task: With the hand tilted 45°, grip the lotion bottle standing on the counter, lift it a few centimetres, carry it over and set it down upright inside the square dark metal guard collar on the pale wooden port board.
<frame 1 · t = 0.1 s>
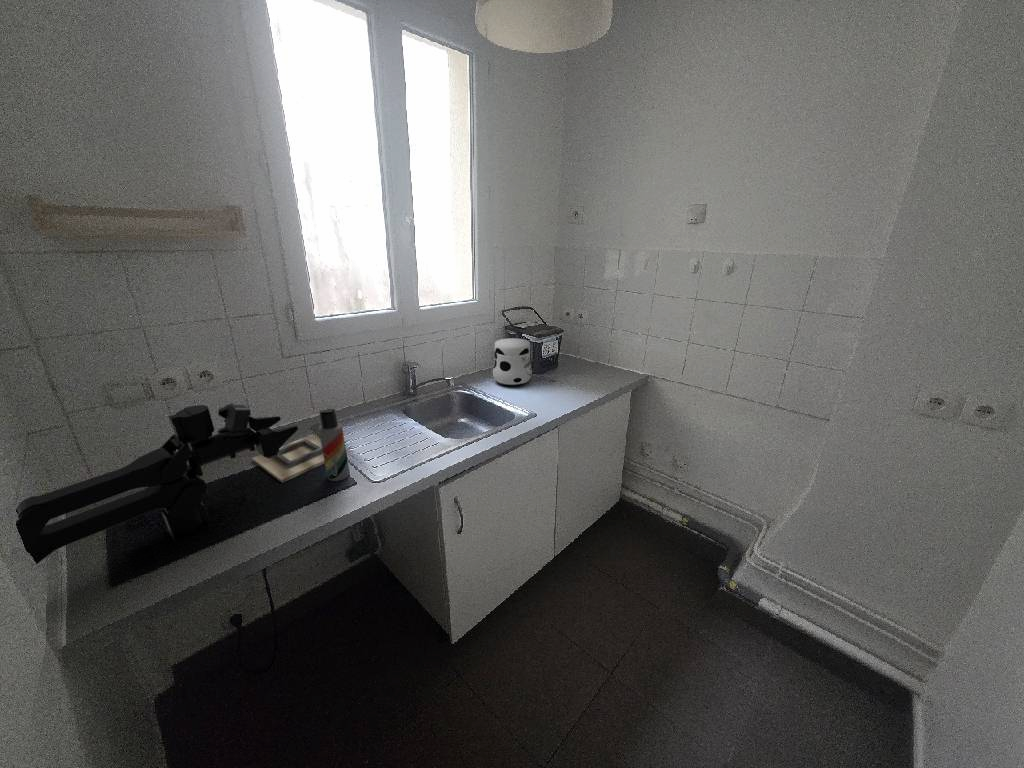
hand: (288, 422, 103), 17 cm above the countertop, tool horizontal, fingers open, 9 cm apart
lotion bottle: (339, 476, 110), on the countertop
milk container: (512, 382, 178), on the countertop
port board: (298, 457, 118), on the countertop
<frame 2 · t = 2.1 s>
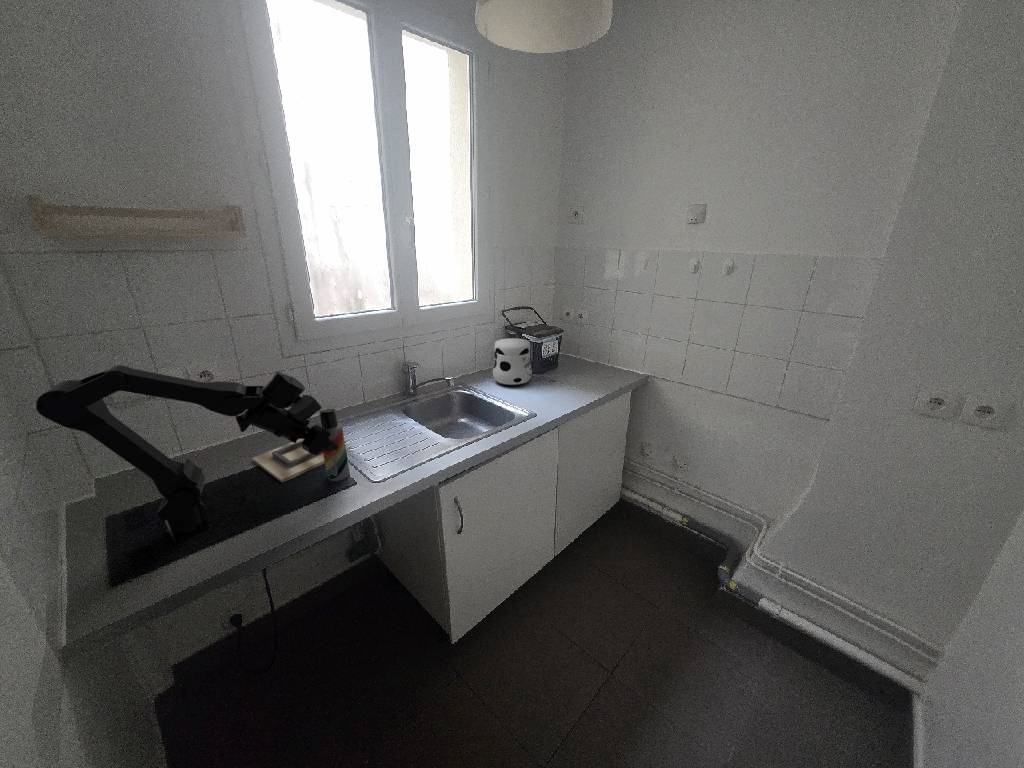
hand: (327, 442, 104), 11 cm above the countertop, tool tilted 45°, fingers open, 9 cm apart
nothing on the countertop moved.
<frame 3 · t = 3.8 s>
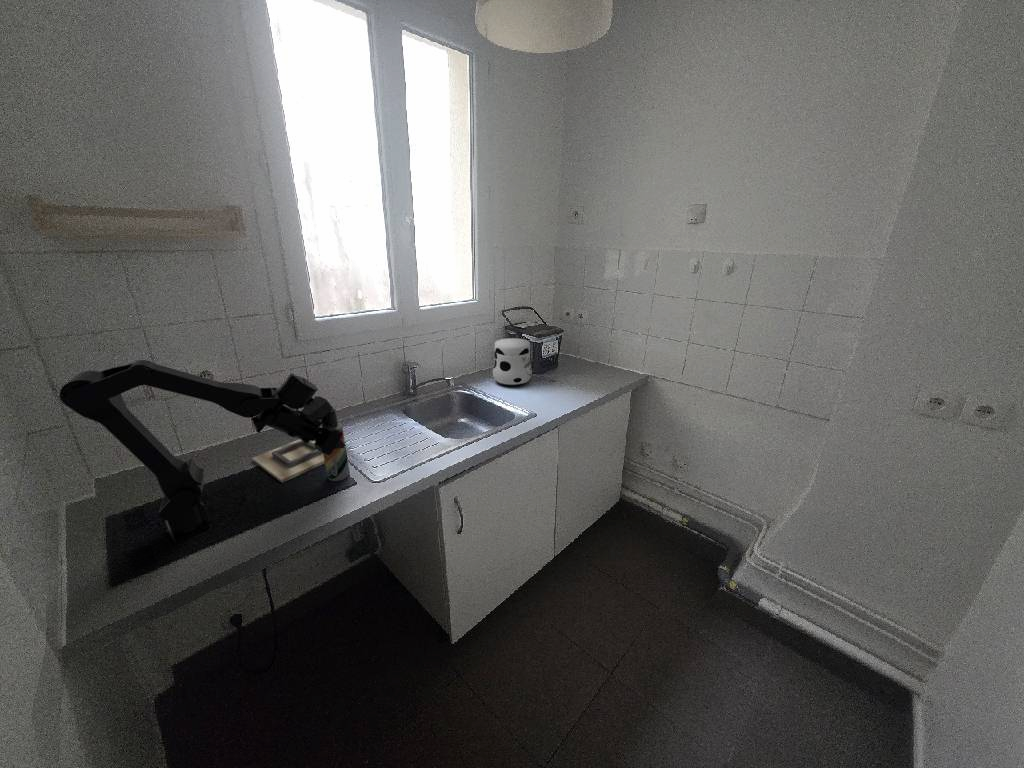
hand: (338, 442, 107), 10 cm above the countertop, tool tilted 45°, fingers closed on lotion bottle, 5 cm apart
lotion bottle: (339, 476, 110), on the countertop, touching gripper
everything else where it was.
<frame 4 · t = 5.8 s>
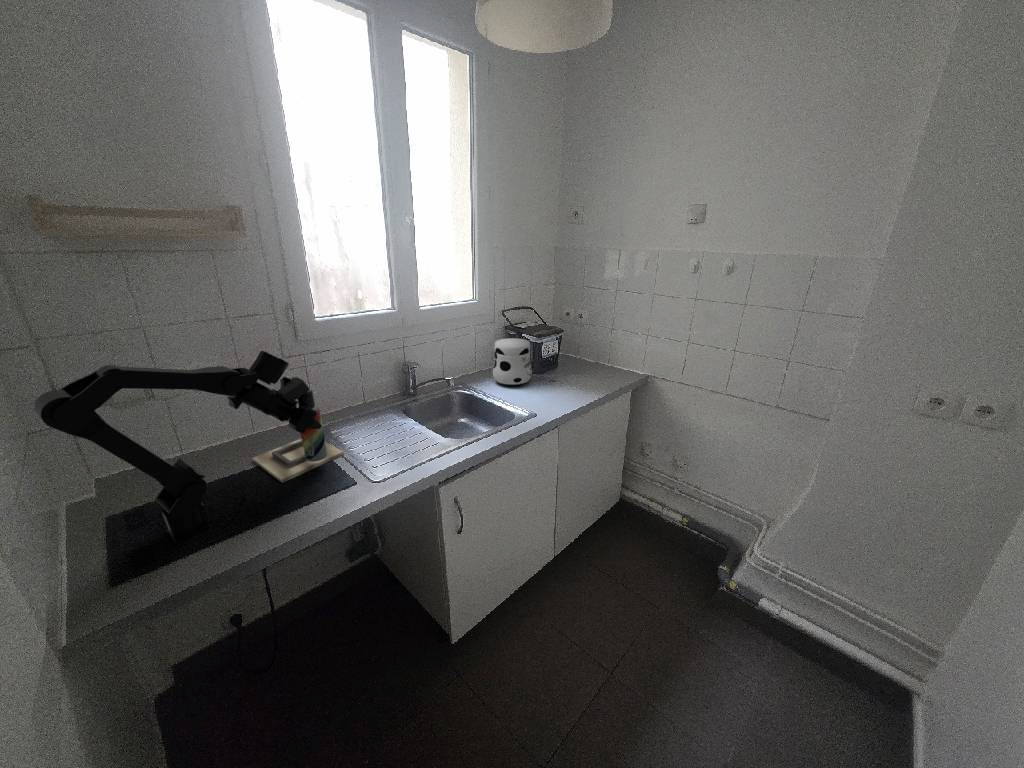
hand: (315, 424, 110), 13 cm above the countertop, tool tilted 45°, fingers closed on lotion bottle, 5 cm apart
lotion bottle: (317, 457, 112), point 3 cm above the countertop, touching gripper
everything else where it was.
when the fingers open (11 cm above the countertop, at t = 7.9 s): lotion bottle stays where it is, resting on port board.
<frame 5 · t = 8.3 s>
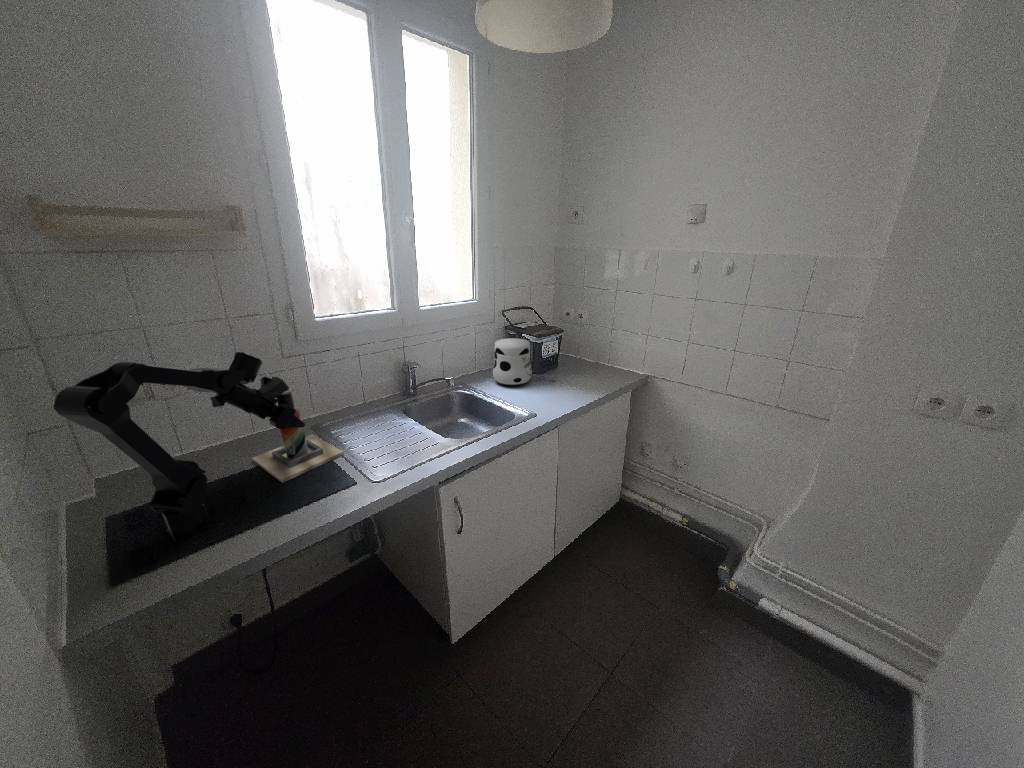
hand: (296, 421, 115), 12 cm above the countertop, tool tilted 45°, fingers open, 9 cm apart
lotion bottle: (298, 455, 117), point 1 cm above the countertop, touching port board
everything else where it was.
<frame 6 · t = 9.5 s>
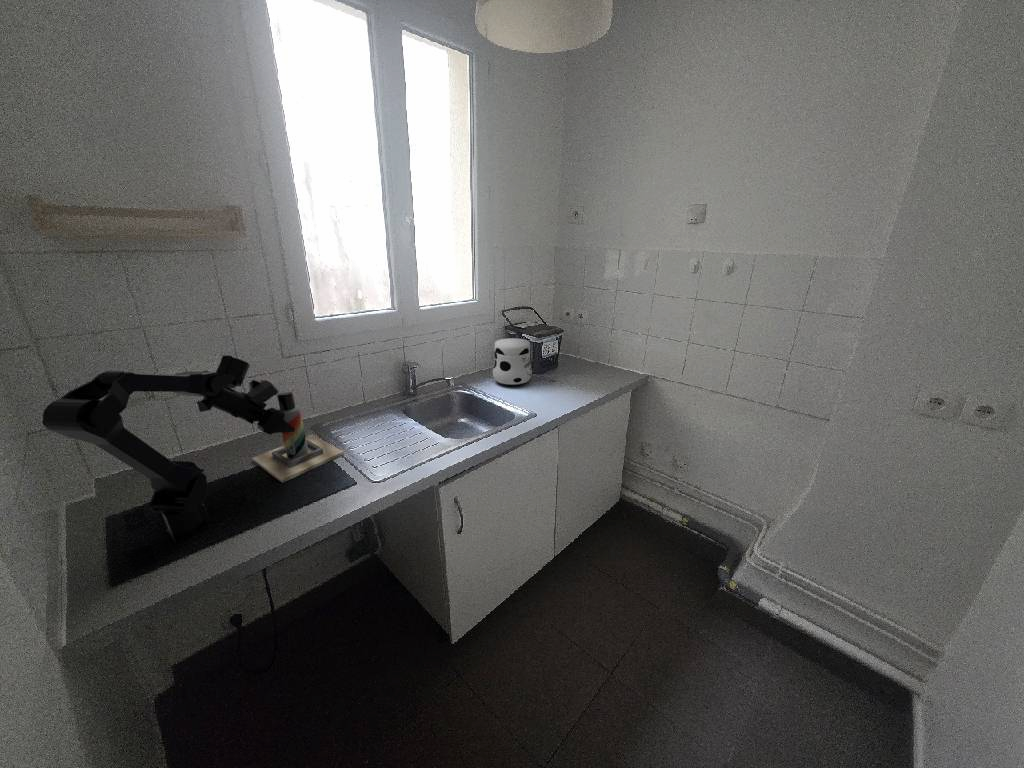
hand: (286, 425, 113), 11 cm above the countertop, tool tilted 45°, fingers open, 9 cm apart
nothing on the countertop moved.
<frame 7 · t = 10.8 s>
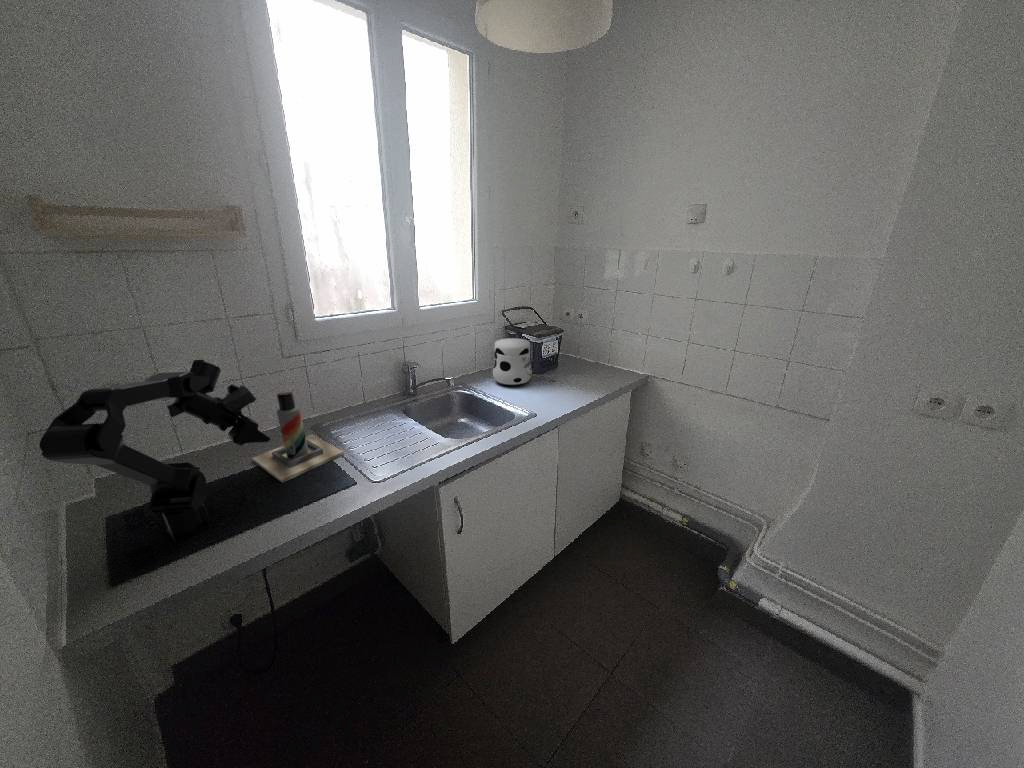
hand: (262, 433, 108), 12 cm above the countertop, tool tilted 40°, fingers open, 9 cm apart
nothing on the countertop moved.
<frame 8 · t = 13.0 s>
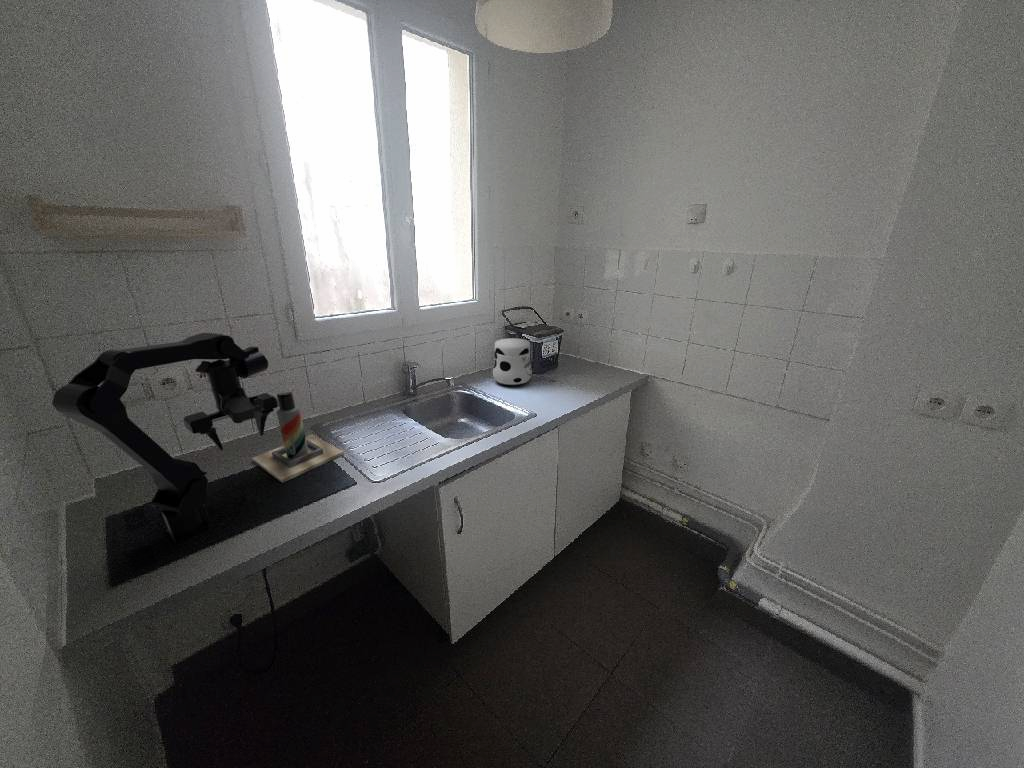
hand: (242, 442, 101), 13 cm above the countertop, tool pointing down, fingers open, 9 cm apart
nothing on the countertop moved.
at the end: lotion bottle 0.4 cm off-centre on the port board, point 0.8 cm above the port board's base; lotion bottle tilted 0°; the gripper is holding nothing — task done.
